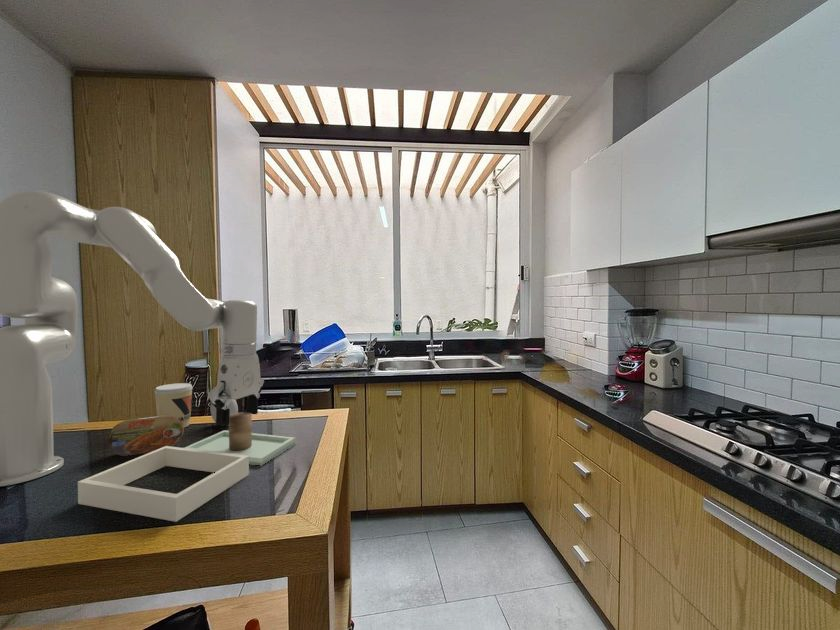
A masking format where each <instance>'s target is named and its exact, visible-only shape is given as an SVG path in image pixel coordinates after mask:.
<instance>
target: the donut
mask: <svg viewBox="0 0 840 630" xmlns="http://www.w3.org/2000/svg"><path fill="white" fill-rule="evenodd" d="M224 402H225V399H224V400H223V403H224ZM209 407H210V415H211V418H212V420H213V421H214V422H215V423H216V409H215V408H214V406H213V405H212V404H211V403H210V406H209ZM227 409H229V410H230V415H232V414H235V413H239V407H238V403H237V399H236V400H233V399H232V400H231V402H230V404H229V406H228V408H227ZM230 415H229V416H230Z"/></svg>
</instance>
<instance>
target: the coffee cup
mask: <svg viewBox="0 0 840 630" xmlns="http://www.w3.org/2000/svg"><path fill="white" fill-rule="evenodd" d="M193 389H194V388H193V385H192V383H188V382H183V383H182V382H178V383H169V384H163V385H159V386H156V387H155V389H154V397H155V399H154V400H155V408H156V416H165V415H170V416H174V417H176V418H178V419H179V420H180V421H181V422H182V424H183V427H184V428H186V427H188V426H190V423H191V415H192V414H191V412H192V402H193V401H192V400H193V399H192V397H193Z"/></svg>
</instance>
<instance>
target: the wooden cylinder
mask: <svg viewBox="0 0 840 630" xmlns="http://www.w3.org/2000/svg"><path fill="white" fill-rule="evenodd" d="M252 415H253V414H251V413H249V412H246V411H241V412H238V413H235V414H232V415H230V416H229V425H228V431H229V450H231V451H242V450H246V449H248V448H250V447H251V446H252V433H253V431H252V430H253V429H252V427H253V426H252V425H253V423H252V418H253V417H252Z"/></svg>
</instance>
